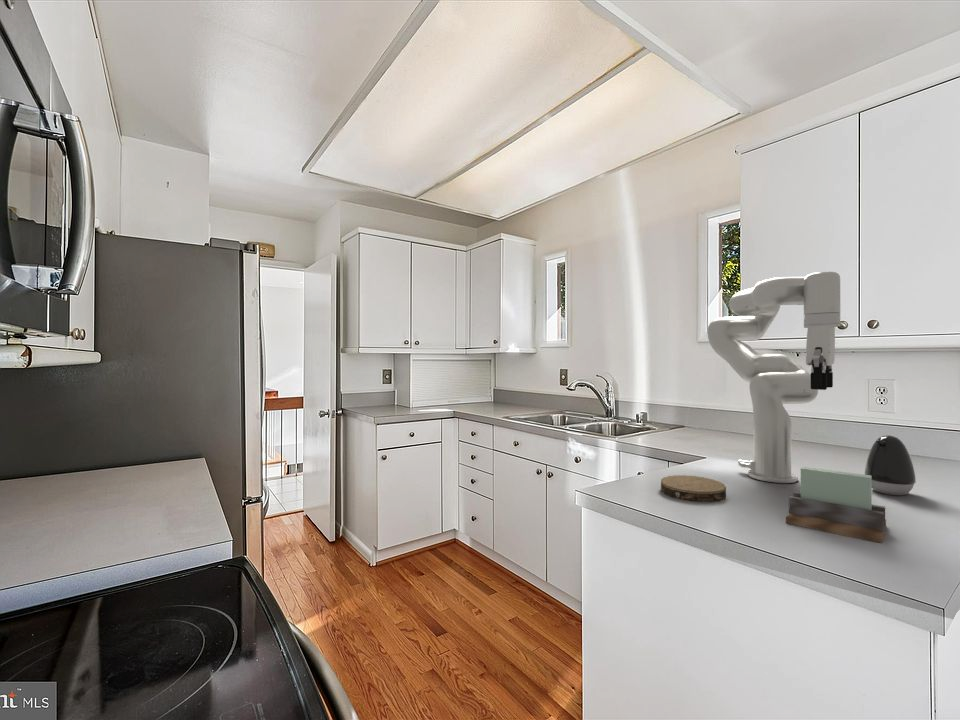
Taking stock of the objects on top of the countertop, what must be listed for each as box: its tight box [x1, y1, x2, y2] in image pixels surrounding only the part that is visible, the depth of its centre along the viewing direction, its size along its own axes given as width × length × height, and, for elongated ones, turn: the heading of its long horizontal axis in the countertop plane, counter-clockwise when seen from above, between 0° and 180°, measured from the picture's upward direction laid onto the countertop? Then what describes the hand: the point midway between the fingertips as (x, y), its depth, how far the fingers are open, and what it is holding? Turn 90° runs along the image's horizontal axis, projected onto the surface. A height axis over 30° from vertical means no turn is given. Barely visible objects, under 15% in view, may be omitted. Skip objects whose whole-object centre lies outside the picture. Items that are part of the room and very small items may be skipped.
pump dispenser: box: [863, 435, 917, 496], centre depth 122 cm, size 10×10×15 cm
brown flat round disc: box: [660, 474, 727, 503], centre depth 124 cm, size 16×16×3 cm
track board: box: [785, 491, 887, 544], centre depth 100 cm, size 16×12×5 cm
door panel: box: [800, 466, 873, 510], centre depth 100 cm, size 12×2×10 cm, turn 46°
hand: (821, 388), depth 117 cm, fingers open, 9 cm apart
